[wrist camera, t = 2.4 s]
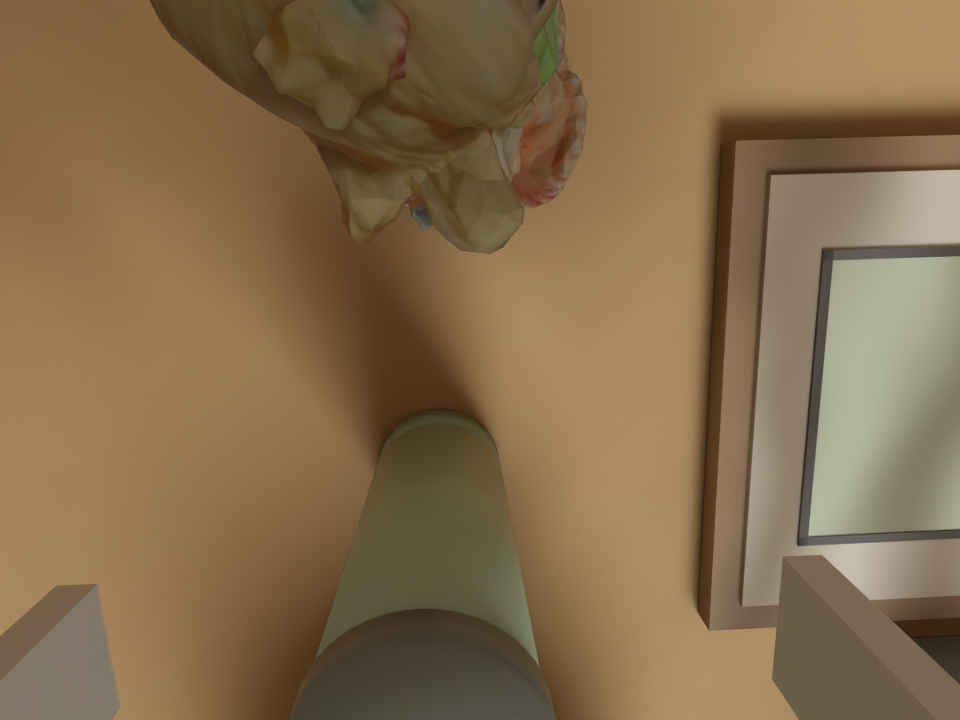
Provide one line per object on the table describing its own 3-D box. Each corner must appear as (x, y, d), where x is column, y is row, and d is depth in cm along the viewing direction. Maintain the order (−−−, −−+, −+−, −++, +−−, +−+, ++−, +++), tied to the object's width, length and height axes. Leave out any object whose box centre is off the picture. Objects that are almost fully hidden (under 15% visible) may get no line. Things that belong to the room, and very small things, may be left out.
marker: (380, 527, 21) (290, 901, 10) (372, 408, 20) (261, 660, 9) (503, 521, 21) (564, 882, 10) (501, 403, 20) (564, 644, 9)
